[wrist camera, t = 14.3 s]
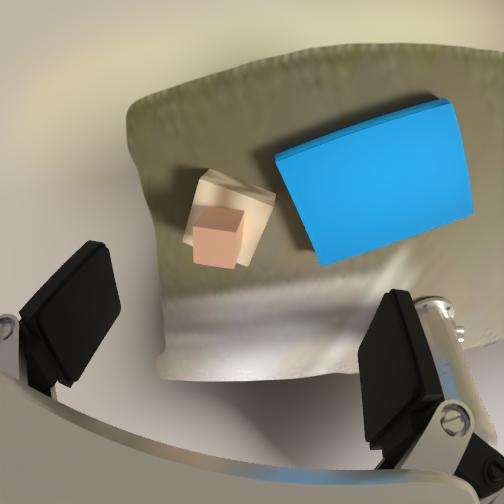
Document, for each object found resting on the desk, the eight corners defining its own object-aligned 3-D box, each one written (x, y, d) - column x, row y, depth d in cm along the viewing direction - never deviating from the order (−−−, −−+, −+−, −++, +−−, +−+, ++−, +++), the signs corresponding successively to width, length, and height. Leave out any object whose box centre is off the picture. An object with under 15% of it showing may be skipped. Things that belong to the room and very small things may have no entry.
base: (276, 193, 42) (273, 206, 37) (252, 248, 47) (247, 266, 43) (210, 168, 41) (199, 178, 37) (193, 226, 46) (182, 241, 42)
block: (244, 210, 38) (236, 232, 33) (242, 244, 41) (233, 269, 36) (207, 205, 39) (193, 226, 33) (206, 238, 41) (193, 262, 36)
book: (474, 213, 34) (322, 269, 42) (462, 202, 37) (320, 254, 46) (450, 96, 27) (271, 160, 35) (436, 94, 30) (274, 152, 39)
